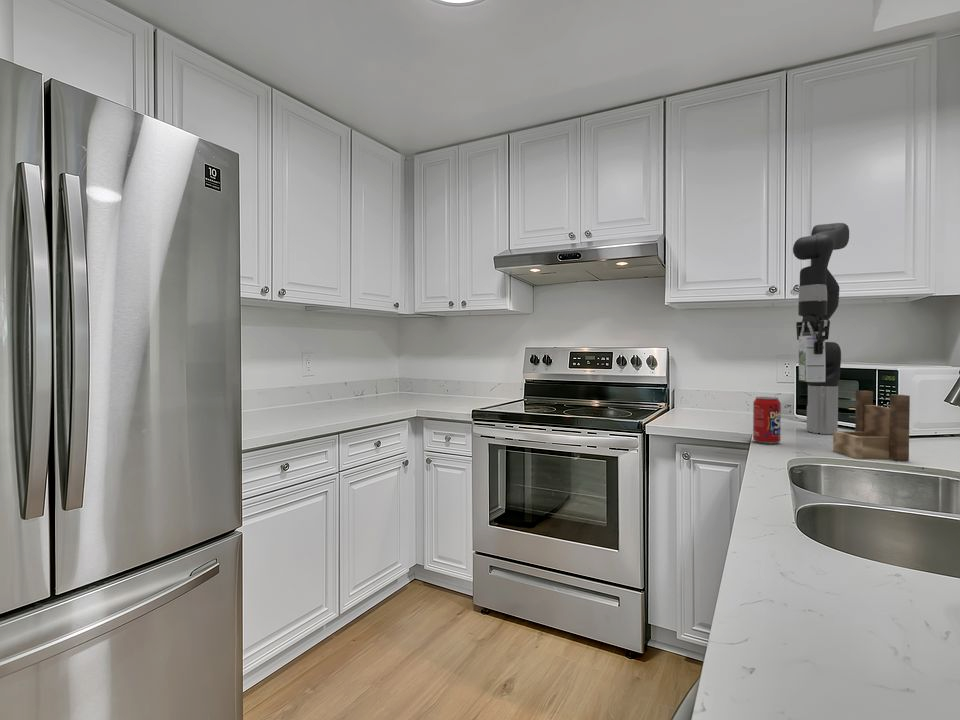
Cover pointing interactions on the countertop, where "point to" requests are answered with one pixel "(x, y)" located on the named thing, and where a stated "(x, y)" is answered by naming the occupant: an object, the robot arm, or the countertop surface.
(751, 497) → the countertop surface
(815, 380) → the syrup box
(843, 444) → the wooden stand
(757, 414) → the soda can
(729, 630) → the countertop surface
